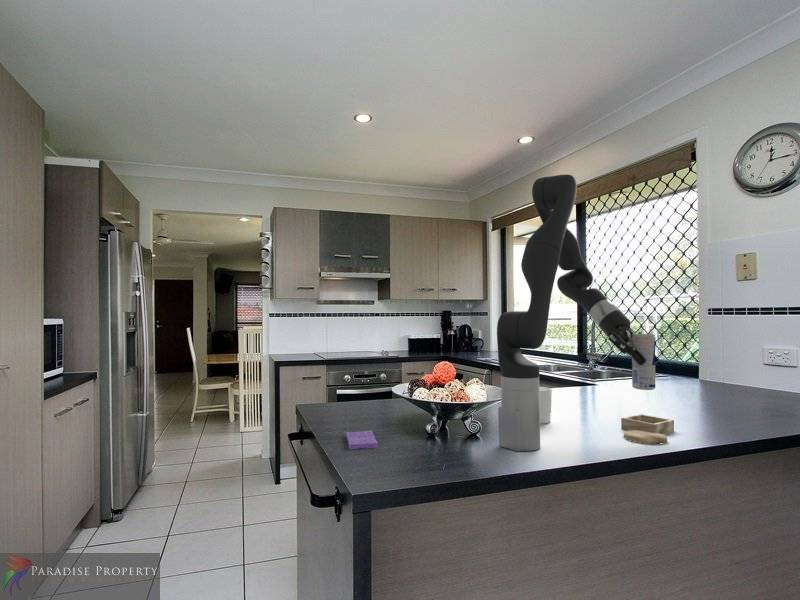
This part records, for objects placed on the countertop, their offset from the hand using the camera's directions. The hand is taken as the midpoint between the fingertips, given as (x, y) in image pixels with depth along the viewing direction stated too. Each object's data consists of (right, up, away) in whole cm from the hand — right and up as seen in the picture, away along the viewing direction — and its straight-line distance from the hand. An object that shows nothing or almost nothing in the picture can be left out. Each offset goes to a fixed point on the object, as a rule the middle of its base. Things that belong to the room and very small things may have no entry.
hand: (649, 362), depth 126 cm
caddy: (+2, -20, +5) cm, 20 cm away
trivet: (-4, -19, -4) cm, 20 cm away
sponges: (-77, -20, -6) cm, 80 cm away
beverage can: (-1, -7, +1) cm, 8 cm away
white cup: (-25, -20, +16) cm, 36 cm away
